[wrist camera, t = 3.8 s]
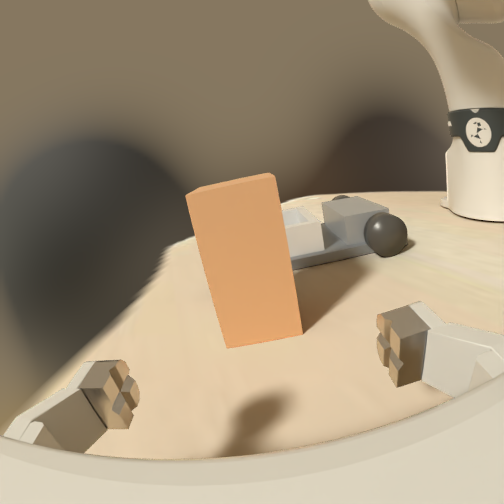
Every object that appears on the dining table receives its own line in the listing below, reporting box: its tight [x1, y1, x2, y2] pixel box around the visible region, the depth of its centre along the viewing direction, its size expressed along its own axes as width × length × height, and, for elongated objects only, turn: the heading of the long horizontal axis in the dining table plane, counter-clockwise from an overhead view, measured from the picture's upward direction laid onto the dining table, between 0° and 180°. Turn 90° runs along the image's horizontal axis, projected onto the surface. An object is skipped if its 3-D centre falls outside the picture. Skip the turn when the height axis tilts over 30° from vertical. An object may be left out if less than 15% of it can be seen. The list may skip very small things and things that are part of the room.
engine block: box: [186, 173, 303, 348], centre depth 20 cm, size 5×5×10 cm
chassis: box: [282, 195, 408, 270], centre depth 35 cm, size 20×16×4 cm
